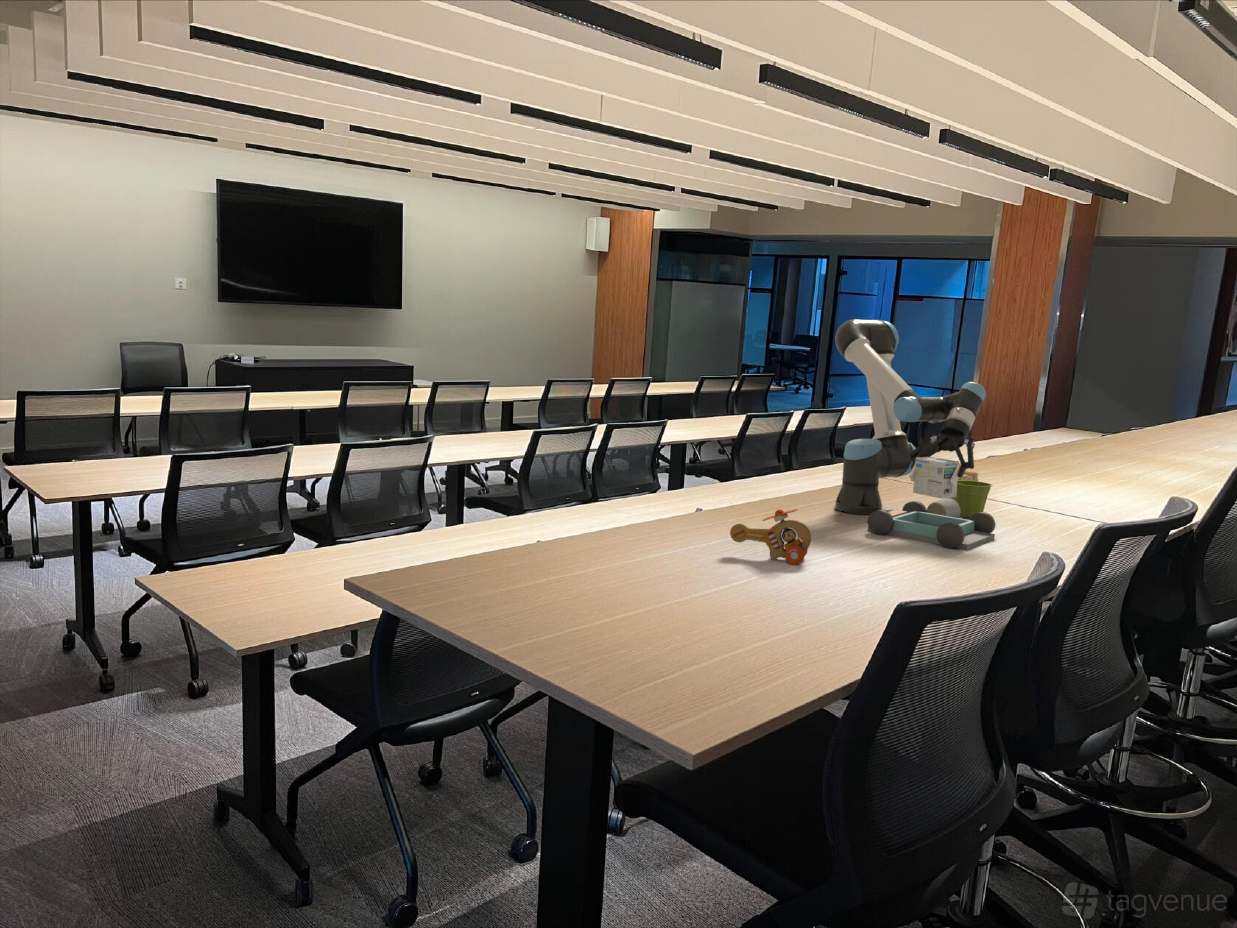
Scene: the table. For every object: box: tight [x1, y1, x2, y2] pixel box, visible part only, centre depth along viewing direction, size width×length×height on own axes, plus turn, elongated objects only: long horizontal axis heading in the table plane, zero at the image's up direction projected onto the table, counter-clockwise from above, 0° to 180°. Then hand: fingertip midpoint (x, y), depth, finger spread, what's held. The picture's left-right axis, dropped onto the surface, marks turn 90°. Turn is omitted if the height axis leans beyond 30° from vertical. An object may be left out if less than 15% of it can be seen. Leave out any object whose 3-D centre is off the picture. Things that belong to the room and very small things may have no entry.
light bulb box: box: [912, 456, 960, 500], centre depth 266 cm, size 11×7×11 cm, turn 33°
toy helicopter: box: [729, 509, 812, 566], centre depth 234 cm, size 8×21×14 cm, turn 71°
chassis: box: [867, 500, 996, 551], centre depth 268 cm, size 30×25×7 cm
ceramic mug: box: [926, 498, 963, 519], centre depth 284 cm, size 11×8×8 cm
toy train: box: [951, 470, 979, 502], centre depth 326 cm, size 6×17×10 cm, turn 136°
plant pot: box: [957, 480, 994, 519], centre depth 297 cm, size 12×12×11 cm
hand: (931, 481), depth 264 cm, fingers closed on light bulb box, 12 cm apart
